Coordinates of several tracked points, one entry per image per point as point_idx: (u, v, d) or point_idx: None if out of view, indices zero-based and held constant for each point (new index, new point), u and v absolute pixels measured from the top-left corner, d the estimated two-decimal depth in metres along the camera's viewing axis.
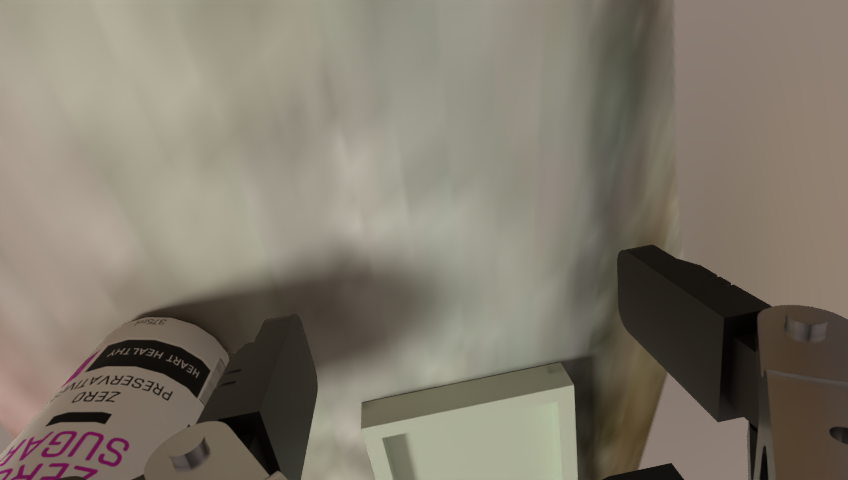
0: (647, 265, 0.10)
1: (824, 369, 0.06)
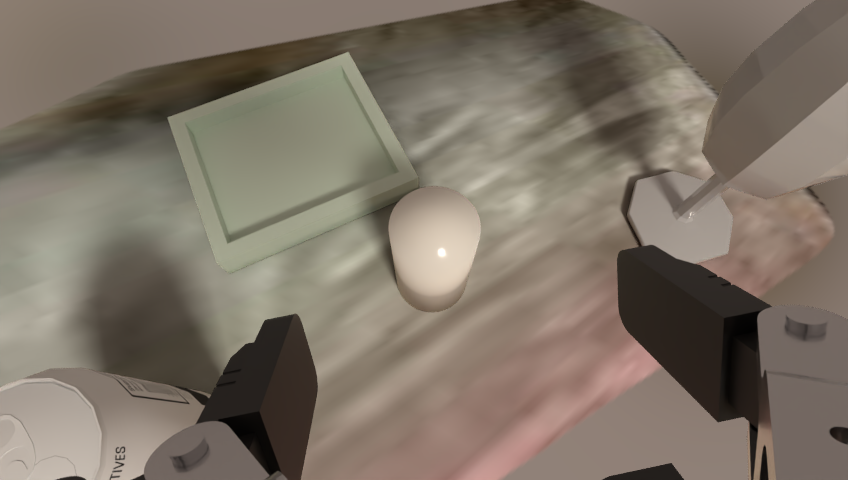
0: (647, 265, 0.10)
1: (824, 369, 0.06)
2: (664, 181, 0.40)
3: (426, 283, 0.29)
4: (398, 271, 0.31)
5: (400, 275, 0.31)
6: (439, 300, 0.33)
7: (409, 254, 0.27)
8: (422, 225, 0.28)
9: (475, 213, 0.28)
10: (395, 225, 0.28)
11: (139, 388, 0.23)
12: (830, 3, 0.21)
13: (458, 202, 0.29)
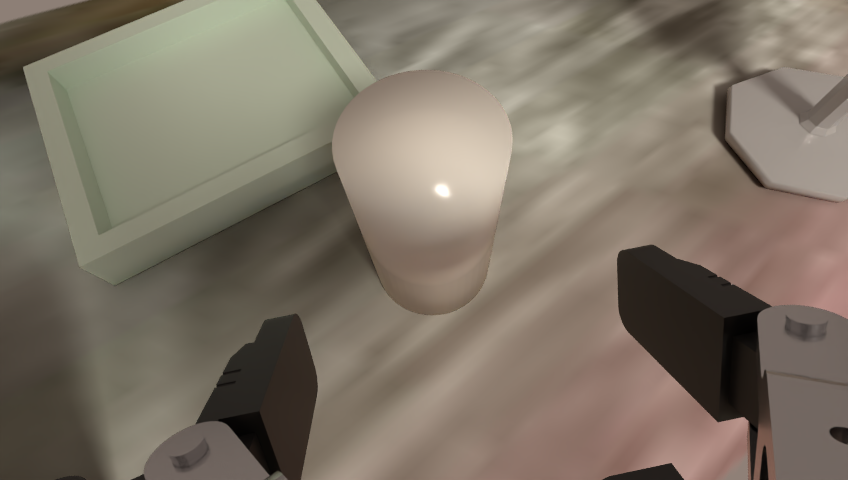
0: (647, 265, 0.10)
1: (824, 369, 0.06)
2: (774, 82, 0.26)
3: (417, 255, 0.16)
4: (368, 242, 0.17)
5: (372, 249, 0.17)
6: (447, 290, 0.19)
7: (375, 191, 0.14)
8: (397, 137, 0.14)
9: (497, 106, 0.15)
10: (345, 143, 0.14)
11: None
12: None
13: (463, 91, 0.15)
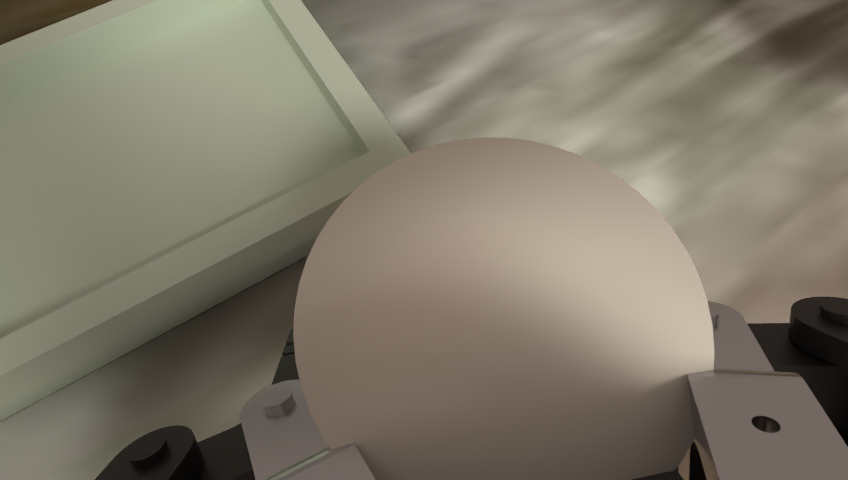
0: None
1: None
2: None
3: None
4: None
5: None
6: None
7: (393, 458, 0.06)
8: (440, 302, 0.06)
9: (662, 228, 0.07)
10: (323, 314, 0.06)
11: None
12: None
13: (579, 190, 0.07)
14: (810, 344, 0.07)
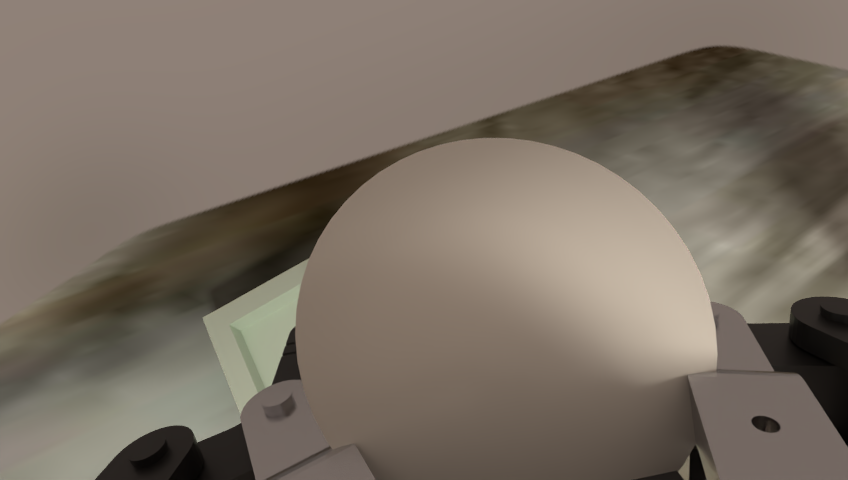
0: None
1: None
2: None
3: None
4: None
5: None
6: None
7: (395, 459, 0.06)
8: (442, 303, 0.06)
9: (664, 228, 0.07)
10: (325, 316, 0.06)
11: None
12: None
13: (581, 190, 0.07)
14: (810, 344, 0.07)
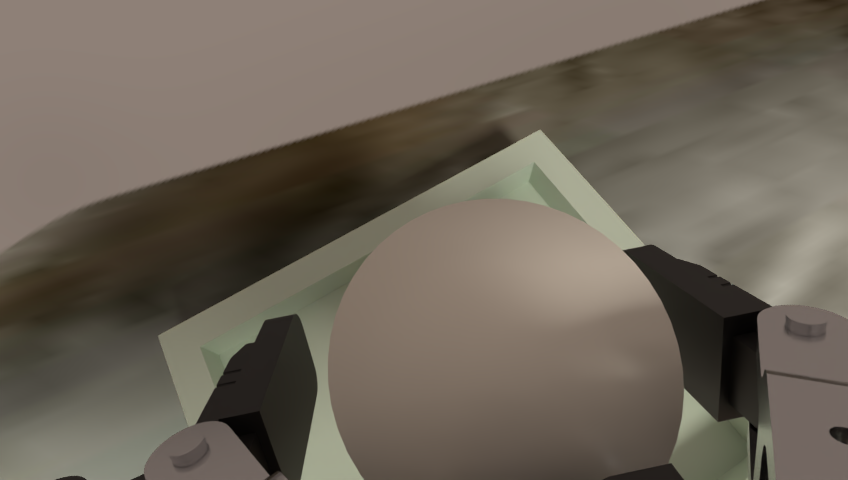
0: (647, 265, 0.10)
1: (824, 369, 0.06)
2: None
3: None
4: None
5: None
6: None
7: None
8: (453, 351, 0.07)
9: (640, 281, 0.08)
10: (353, 364, 0.07)
11: None
12: None
13: (569, 247, 0.08)
14: None
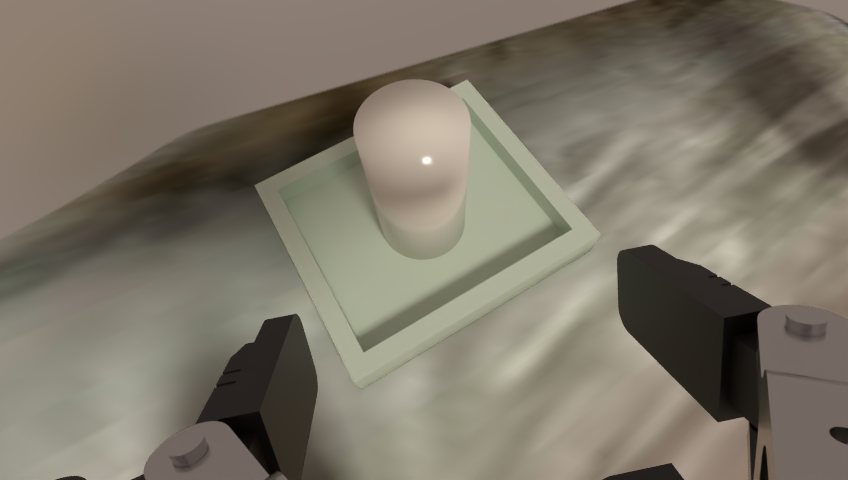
0: (647, 265, 0.10)
1: (824, 369, 0.06)
2: None
3: (411, 204, 0.23)
4: (376, 198, 0.25)
5: (379, 204, 0.25)
6: (433, 235, 0.27)
7: (382, 158, 0.21)
8: (395, 124, 0.22)
9: (461, 103, 0.22)
10: (361, 128, 0.22)
11: None
12: None
13: (439, 93, 0.23)
14: None
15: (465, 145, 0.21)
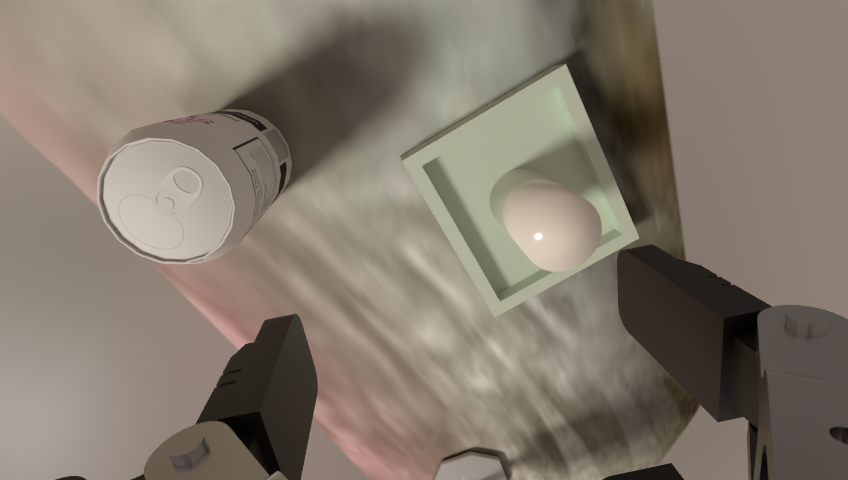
0: (647, 265, 0.10)
1: (824, 369, 0.06)
2: (498, 477, 0.52)
3: (512, 220, 0.34)
4: (523, 190, 0.35)
5: (520, 191, 0.35)
6: (499, 218, 0.38)
7: (536, 216, 0.31)
8: (563, 223, 0.32)
9: (574, 266, 0.33)
10: (563, 201, 0.31)
11: (255, 220, 0.29)
12: None
13: (585, 251, 0.32)
14: None
15: (540, 267, 0.33)
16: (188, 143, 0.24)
